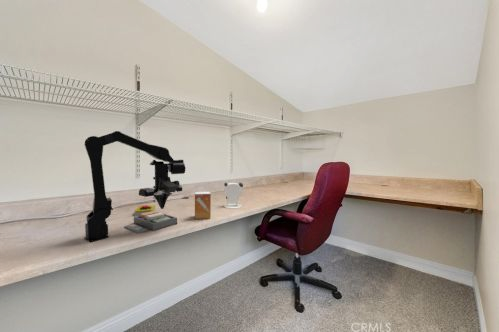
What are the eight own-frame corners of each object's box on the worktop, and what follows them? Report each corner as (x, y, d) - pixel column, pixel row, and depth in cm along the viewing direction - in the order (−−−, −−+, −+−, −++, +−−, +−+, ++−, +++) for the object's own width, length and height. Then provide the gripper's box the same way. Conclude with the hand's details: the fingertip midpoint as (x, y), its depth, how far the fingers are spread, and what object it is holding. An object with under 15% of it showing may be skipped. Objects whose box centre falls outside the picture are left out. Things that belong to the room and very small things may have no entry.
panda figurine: (241, 204, 148) (241, 181, 147) (243, 208, 137) (244, 184, 136) (223, 204, 146) (223, 181, 145) (224, 208, 135) (224, 184, 134)
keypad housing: (153, 230, 96) (153, 224, 96) (133, 223, 106) (133, 217, 106) (177, 223, 106) (177, 217, 106) (157, 217, 116) (157, 211, 116)
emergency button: (133, 209, 116) (138, 203, 131) (133, 217, 117) (138, 210, 131) (153, 208, 119) (155, 202, 133) (153, 216, 119) (155, 209, 134)
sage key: (157, 226, 99) (157, 221, 99) (152, 224, 101) (152, 220, 101) (171, 222, 104) (171, 218, 104) (166, 220, 107) (166, 216, 106)
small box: (194, 219, 113) (194, 194, 112) (195, 215, 119) (194, 191, 119) (210, 218, 115) (210, 193, 114) (210, 215, 121) (210, 191, 120)
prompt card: (137, 233, 93) (137, 231, 93) (124, 227, 100) (124, 225, 100) (147, 230, 96) (147, 228, 96) (133, 225, 103) (133, 223, 103)
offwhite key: (150, 221, 102) (150, 217, 102) (146, 220, 104) (146, 215, 104) (164, 218, 107) (164, 213, 107) (159, 216, 110) (159, 212, 110)
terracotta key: (144, 219, 105) (144, 215, 105) (140, 217, 107) (140, 213, 107) (158, 216, 111) (158, 212, 111) (153, 214, 113) (153, 210, 113)
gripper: (151, 178, 89) (152, 216, 90) (189, 174, 104) (189, 207, 105) (137, 176, 96) (138, 211, 97) (175, 173, 111) (175, 204, 112)
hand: (162, 208), depth 102 cm, fingers closed
